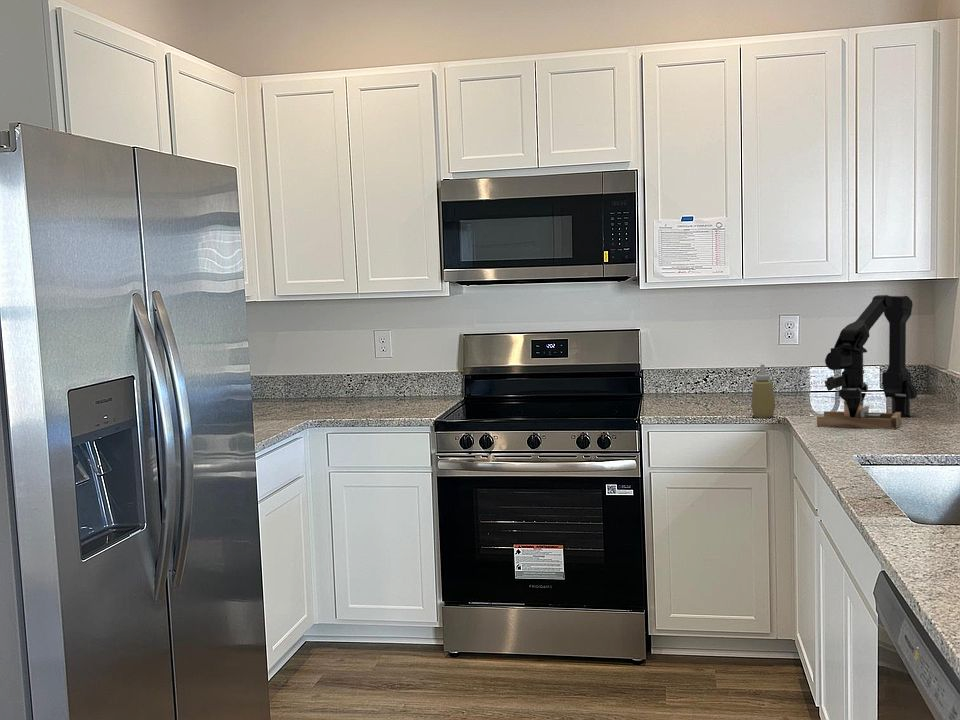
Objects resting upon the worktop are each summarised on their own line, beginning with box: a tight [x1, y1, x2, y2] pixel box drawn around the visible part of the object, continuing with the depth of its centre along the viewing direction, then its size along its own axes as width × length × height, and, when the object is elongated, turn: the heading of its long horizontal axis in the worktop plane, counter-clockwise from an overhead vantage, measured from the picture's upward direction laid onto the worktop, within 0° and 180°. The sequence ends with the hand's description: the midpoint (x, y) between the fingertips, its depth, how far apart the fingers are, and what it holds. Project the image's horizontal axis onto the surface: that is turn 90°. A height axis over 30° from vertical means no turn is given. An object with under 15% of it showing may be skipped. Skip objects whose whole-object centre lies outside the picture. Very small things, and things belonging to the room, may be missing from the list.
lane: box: [816, 410, 902, 430], centre depth 297 cm, size 14×23×4 cm, turn 60°
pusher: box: [861, 405, 881, 418], centre depth 295 cm, size 10×5×4 cm, turn 150°
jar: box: [843, 400, 864, 418], centre depth 297 cm, size 6×6×6 cm
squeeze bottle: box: [750, 364, 776, 419], centre depth 321 cm, size 8×8×18 cm
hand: (853, 416), depth 297 cm, fingers closed on jar, 5 cm apart
